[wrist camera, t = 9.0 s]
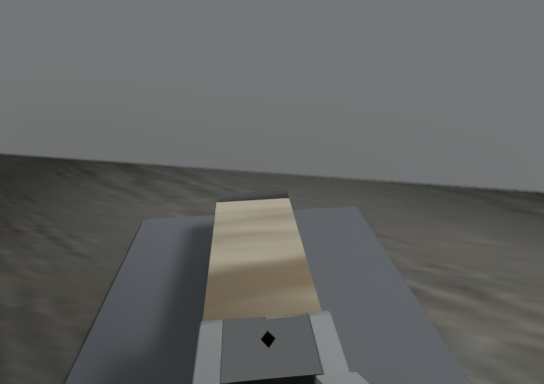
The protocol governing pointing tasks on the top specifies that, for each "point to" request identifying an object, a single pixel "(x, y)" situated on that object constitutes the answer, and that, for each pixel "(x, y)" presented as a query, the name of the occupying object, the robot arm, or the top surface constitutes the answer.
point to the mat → (329, 287)
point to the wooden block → (257, 259)
